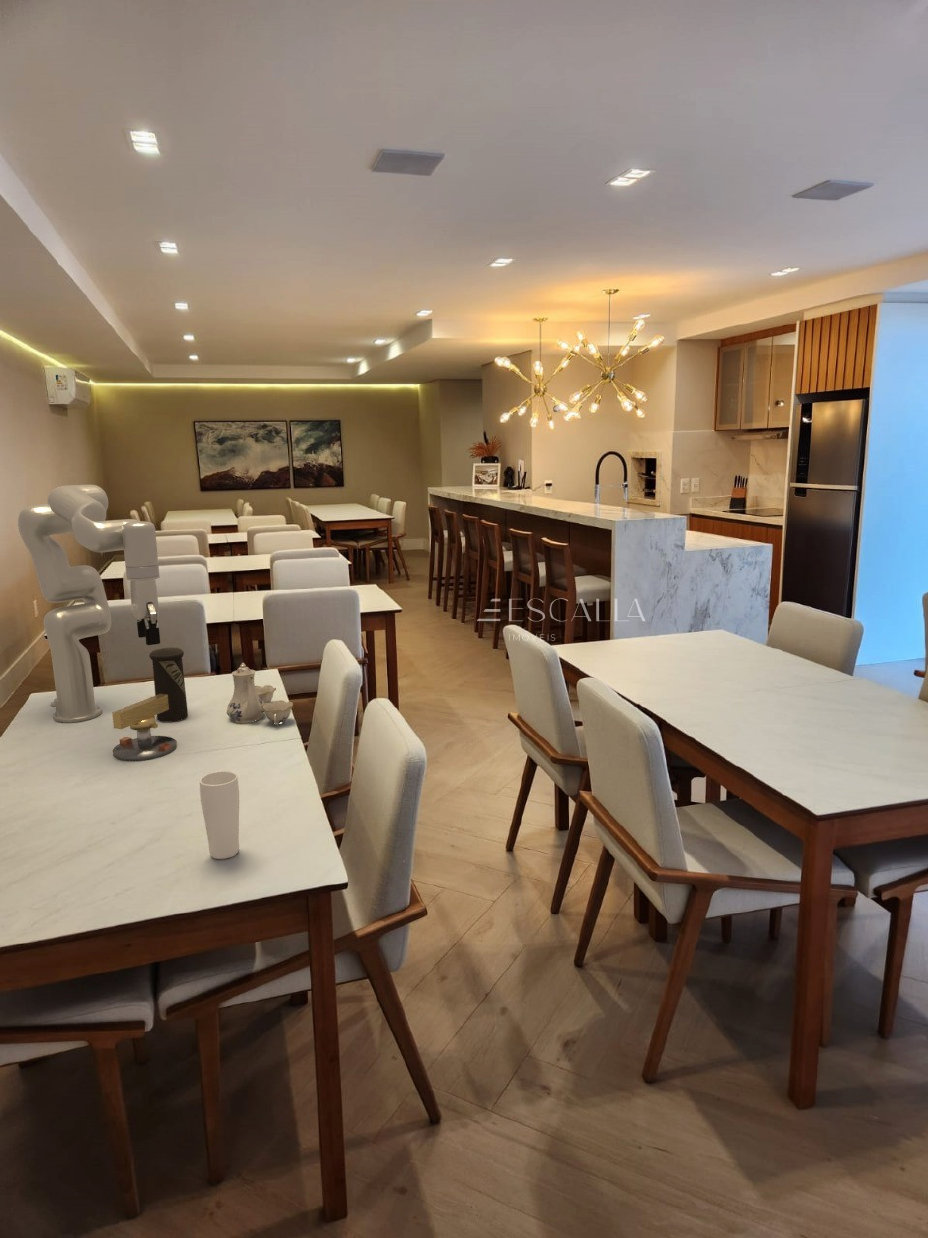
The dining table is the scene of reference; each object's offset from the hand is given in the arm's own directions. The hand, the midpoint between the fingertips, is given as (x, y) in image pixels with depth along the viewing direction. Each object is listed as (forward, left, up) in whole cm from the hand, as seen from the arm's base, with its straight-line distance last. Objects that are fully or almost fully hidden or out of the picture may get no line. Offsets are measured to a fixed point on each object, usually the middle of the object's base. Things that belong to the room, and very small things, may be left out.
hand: (149, 640), depth 198 cm
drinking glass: (+53, -40, -28) cm, 72 cm away
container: (-11, +18, -28) cm, 35 cm away
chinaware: (+10, +27, -28) cm, 40 cm away
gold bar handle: (0, -4, -21) cm, 22 cm away
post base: (0, -4, -27) cm, 28 cm away
